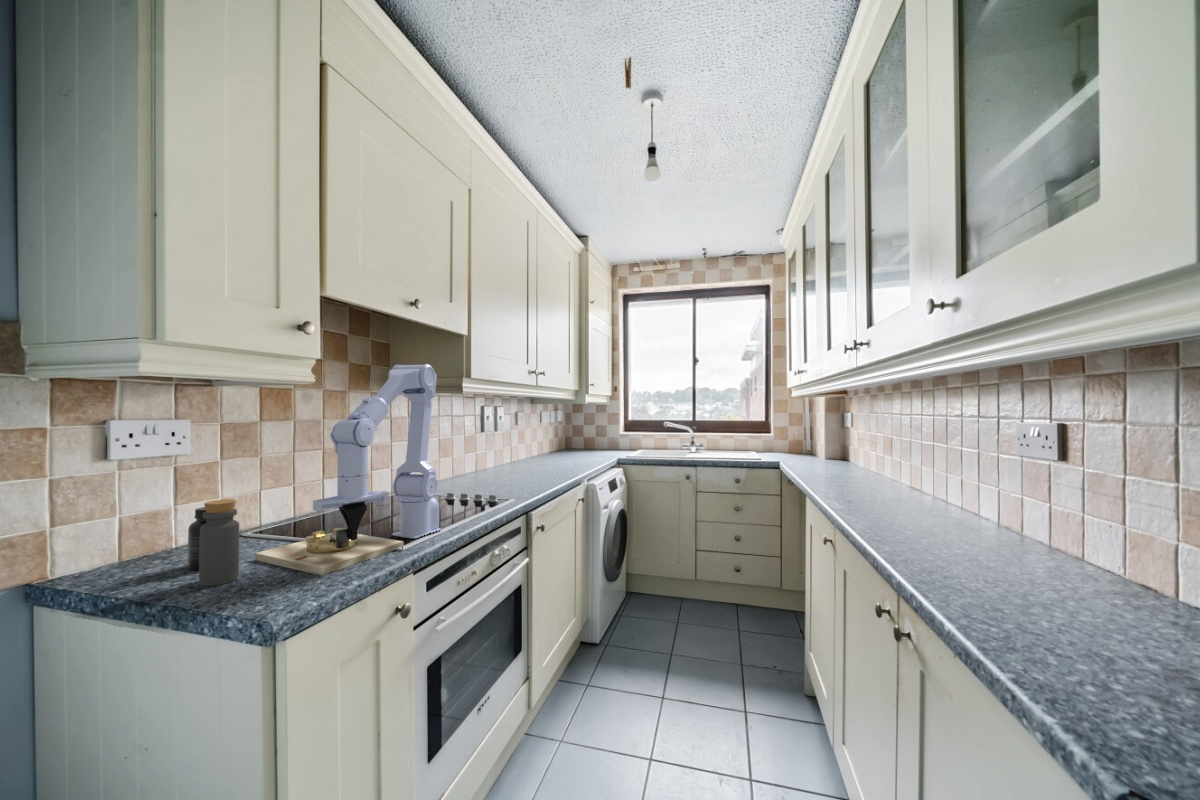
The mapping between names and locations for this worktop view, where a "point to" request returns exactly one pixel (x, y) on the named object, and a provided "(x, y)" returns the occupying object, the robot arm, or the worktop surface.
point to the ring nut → (330, 541)
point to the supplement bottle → (195, 539)
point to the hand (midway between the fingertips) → (352, 539)
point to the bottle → (219, 544)
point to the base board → (327, 555)
